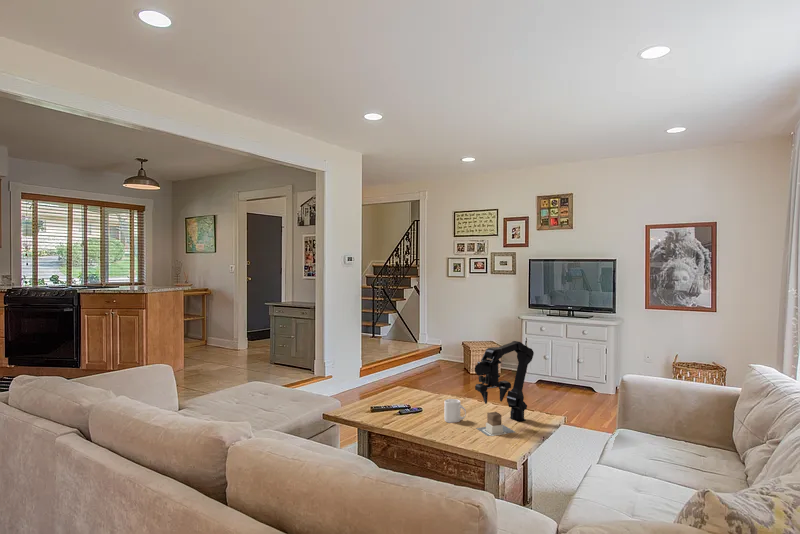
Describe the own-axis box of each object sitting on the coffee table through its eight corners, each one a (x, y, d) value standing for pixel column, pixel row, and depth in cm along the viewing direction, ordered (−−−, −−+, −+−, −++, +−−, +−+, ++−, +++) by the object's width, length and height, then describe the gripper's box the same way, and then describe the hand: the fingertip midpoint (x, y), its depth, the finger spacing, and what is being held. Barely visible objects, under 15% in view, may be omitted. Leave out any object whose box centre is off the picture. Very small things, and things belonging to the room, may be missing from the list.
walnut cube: (496, 421, 238) (495, 411, 238) (501, 424, 234) (501, 414, 234) (487, 422, 237) (487, 412, 237) (492, 425, 232) (492, 415, 232)
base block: (496, 429, 239) (496, 421, 239) (502, 433, 233) (502, 425, 233) (485, 430, 237) (485, 422, 237) (492, 434, 231) (492, 426, 231)
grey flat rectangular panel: (502, 425, 246) (502, 424, 246) (516, 433, 234) (516, 432, 234) (475, 429, 241) (475, 427, 241) (488, 437, 229) (488, 435, 229)
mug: (462, 425, 247) (462, 405, 247) (441, 421, 253) (441, 401, 253) (468, 421, 254) (468, 401, 254) (448, 417, 260) (448, 398, 260)
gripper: (499, 367, 257) (499, 396, 257) (469, 371, 250) (469, 400, 250) (511, 372, 247) (512, 401, 247) (480, 375, 240) (481, 406, 240)
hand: (493, 402), depth 246 cm, fingers open, 9 cm apart
